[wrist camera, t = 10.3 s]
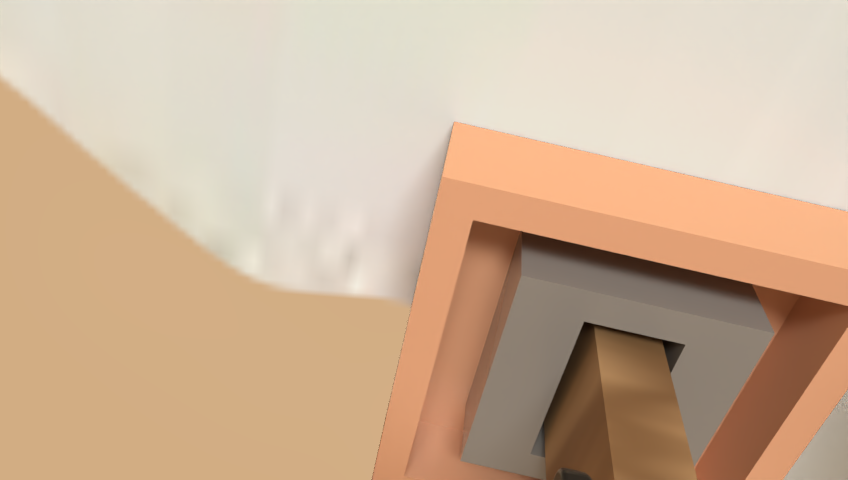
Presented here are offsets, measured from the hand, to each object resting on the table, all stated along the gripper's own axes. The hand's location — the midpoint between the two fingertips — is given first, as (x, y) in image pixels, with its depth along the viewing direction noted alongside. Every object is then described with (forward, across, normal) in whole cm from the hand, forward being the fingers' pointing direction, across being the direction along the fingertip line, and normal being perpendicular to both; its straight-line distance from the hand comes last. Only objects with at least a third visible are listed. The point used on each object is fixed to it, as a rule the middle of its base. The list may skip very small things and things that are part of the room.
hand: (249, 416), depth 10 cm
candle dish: (+12, -8, +6) cm, 16 cm away
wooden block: (+11, -8, +6) cm, 15 cm away
